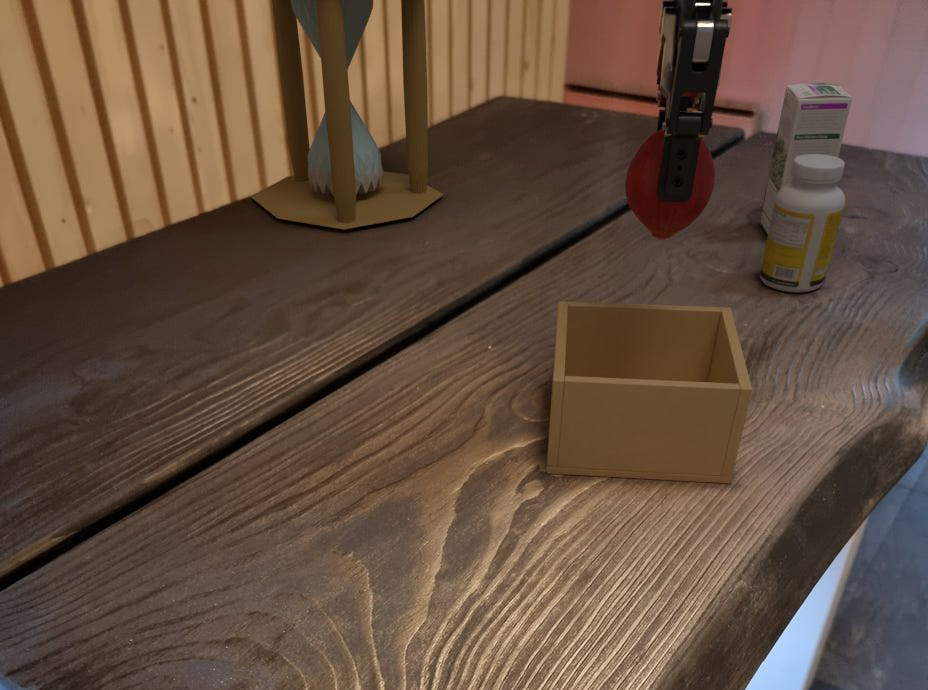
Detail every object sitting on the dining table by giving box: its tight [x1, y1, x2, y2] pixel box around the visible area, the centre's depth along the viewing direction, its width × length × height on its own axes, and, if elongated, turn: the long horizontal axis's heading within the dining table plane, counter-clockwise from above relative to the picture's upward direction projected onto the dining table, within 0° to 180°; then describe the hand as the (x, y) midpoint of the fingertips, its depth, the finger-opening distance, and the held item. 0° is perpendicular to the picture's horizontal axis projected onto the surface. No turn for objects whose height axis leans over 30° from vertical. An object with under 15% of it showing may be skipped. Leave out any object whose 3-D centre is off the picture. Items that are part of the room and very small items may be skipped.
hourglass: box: [250, 0, 445, 230], centre depth 108 cm, size 24×22×25 cm
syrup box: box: [758, 82, 853, 236], centre depth 101 cm, size 6×6×14 cm
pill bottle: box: [759, 154, 846, 293], centre depth 92 cm, size 6×6×12 cm
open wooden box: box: [545, 301, 753, 484], centre depth 71 cm, size 14×14×8 cm
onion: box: [624, 129, 716, 241], centre depth 62 cm, size 6×6×8 cm
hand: (670, 183), depth 62 cm, fingers closed on onion, 6 cm apart
